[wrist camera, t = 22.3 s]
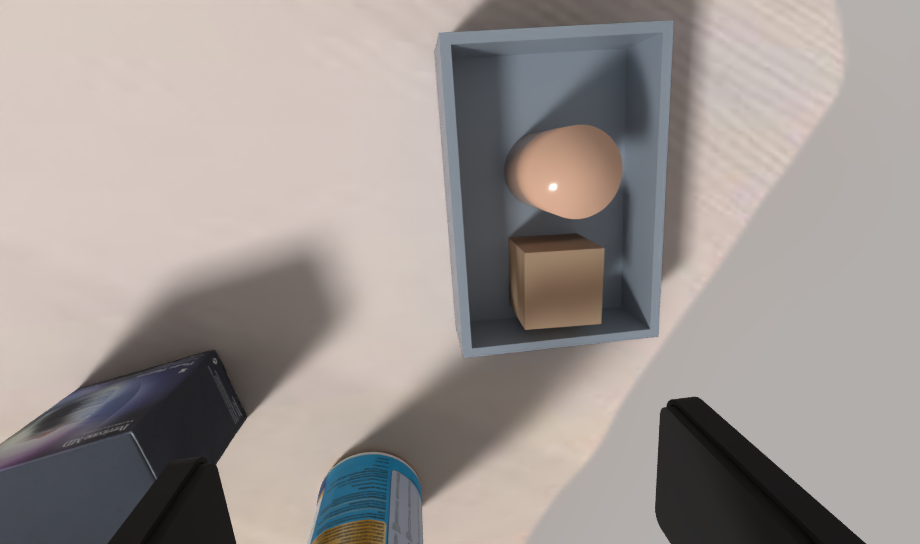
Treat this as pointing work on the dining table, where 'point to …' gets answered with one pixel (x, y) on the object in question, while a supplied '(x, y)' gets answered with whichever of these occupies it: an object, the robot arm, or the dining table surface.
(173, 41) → the dining table surface
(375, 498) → the beverage bottle
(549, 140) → the tan rounded smooth part
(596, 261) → the walnut cube
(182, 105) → the dining table surface
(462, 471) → the dining table surface
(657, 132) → the tote
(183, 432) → the small box
